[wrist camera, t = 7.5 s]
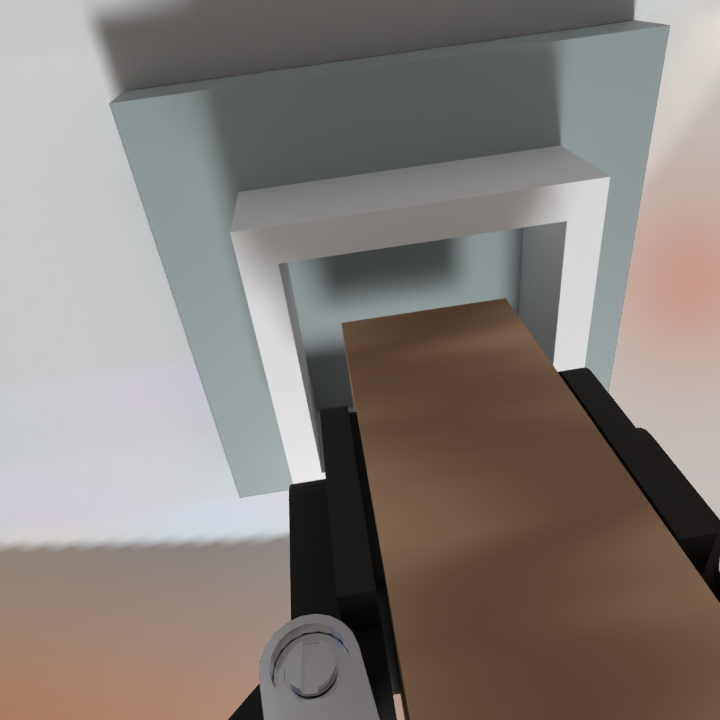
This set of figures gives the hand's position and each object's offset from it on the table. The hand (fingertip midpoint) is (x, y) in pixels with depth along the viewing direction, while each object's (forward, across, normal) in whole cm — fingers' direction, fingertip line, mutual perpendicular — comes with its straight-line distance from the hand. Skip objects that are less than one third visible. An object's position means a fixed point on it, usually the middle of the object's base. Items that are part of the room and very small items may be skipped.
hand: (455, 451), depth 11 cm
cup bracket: (+7, 0, 0) cm, 7 cm away
